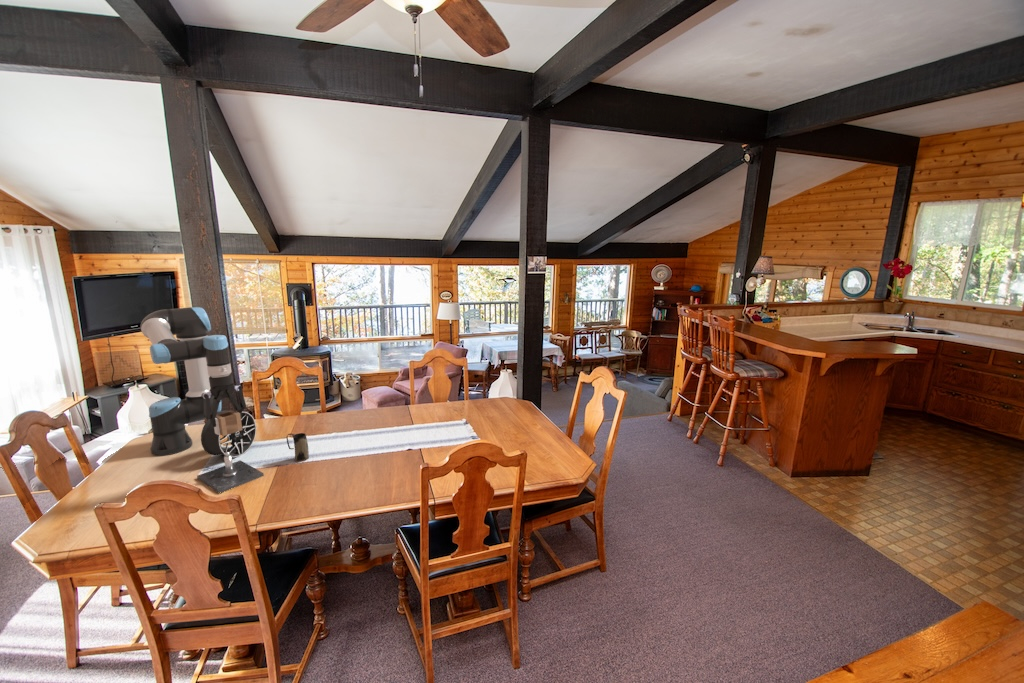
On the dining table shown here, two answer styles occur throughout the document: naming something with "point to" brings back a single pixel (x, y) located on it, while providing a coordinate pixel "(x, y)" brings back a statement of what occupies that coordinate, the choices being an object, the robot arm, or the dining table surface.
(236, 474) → the shaft stand
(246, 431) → the wheel rim
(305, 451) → the mug
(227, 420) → the hollow wooden cube
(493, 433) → the dining table surface
